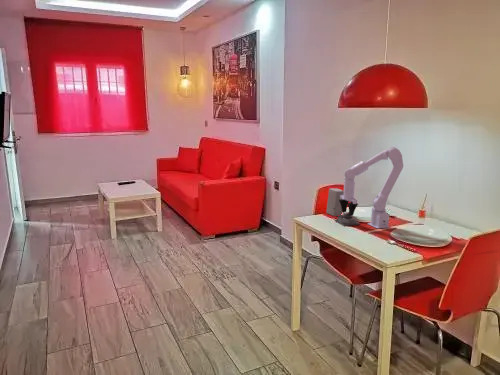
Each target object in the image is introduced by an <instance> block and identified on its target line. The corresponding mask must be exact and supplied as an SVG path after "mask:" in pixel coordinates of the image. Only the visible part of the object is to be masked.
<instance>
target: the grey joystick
mask: <svg viewBox="0 0 500 375" xmlns="http://www.w3.org/2000/svg"><path fill="white" fill-rule="evenodd" d="M357 219H358V218H357V216H354V215H351V218H343V214H342V215H339V216H337V218H336V219H334V222H335V221H336V222H335V223H337V222H338V223H337V224H339V225H341V226H343V227H347V226H349V227H350V226H359V225H361V224H360V223H361V222H358V221H357Z"/></svg>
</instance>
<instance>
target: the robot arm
mask: <svg viewBox="0 0 500 375" xmlns="http://www.w3.org/2000/svg"><path fill="white" fill-rule="evenodd" d="M388 159H389V160H390V161H391V163H392V168H391V170H390V172H389V174H388V176H387V178H386V180H385V182H384V183H383V186H381V190H380V191H379V193H378V194H377V196H375V197H374V198H373V201H372V204H373V207H372V208H371V214H370V215H371V217H370V218H371V219H370V222H368V223H367V225H369V226H371V227H373V228H375V229H389V228H390V226H389V224H390V222H389V220H390V215H389V213H387V212H386V211H387V210H386V207H387V205H386V204H387V201H388V200H389V199H388V198H389V195H390V193H391V192H392V189H393V188H394V186H395V184H396V182H397V180H398V179H399V177H400V174H401V172H402V171H403V169H404V161H403V154H402V152H401V151H400V150H399V149H398V148H397V147H395V146H394V147H393V146H391V147H389V148H387V149H384V150H382V151H380V152H378V153H377V154H375V155H374V156H372V157H371V158H369V159H368V160H366V161H363V160H360V161H359V160H358V161H357V163H356V164H355V165H353V166H350V168H347V169H346V170H345V171H344V181H343V191H344V194H343V195H340V199H341V200H339V202H340V204H341V208H342V213H343V212H347V210H348V212H349V215H350V216H351V215H352V216H354V213H355V211H356V208H357V207H358V205H359V203H358V200H357V199H356V198H355V178H356V177H357V176H359V175H361V174H363V173H365V172H366V171H368V169H369V167H371V166H372V165H374V164H376V163H378V162H380V161H382V160H388Z"/></svg>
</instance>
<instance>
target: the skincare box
mask: <svg viewBox="0 0 500 375" xmlns="http://www.w3.org/2000/svg"><path fill="white" fill-rule="evenodd" d="M343 194H344V189H343V190H342V189H340V188H336V187H335V188H334V187H333V188H332V187H331V188H329V189H328V195H327V196H328V197H327V203H326V214H328V215H329V216H333V217H338V215H341V214H342V215H343V212H342V208H341V204H340V202H339V200H341V199H340V195H343Z"/></svg>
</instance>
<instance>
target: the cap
mask: <svg viewBox="0 0 500 375" xmlns="http://www.w3.org/2000/svg"><path fill="white" fill-rule="evenodd" d="M342 215H343V218H351V216H350V215H349V211H346V212H342Z"/></svg>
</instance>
